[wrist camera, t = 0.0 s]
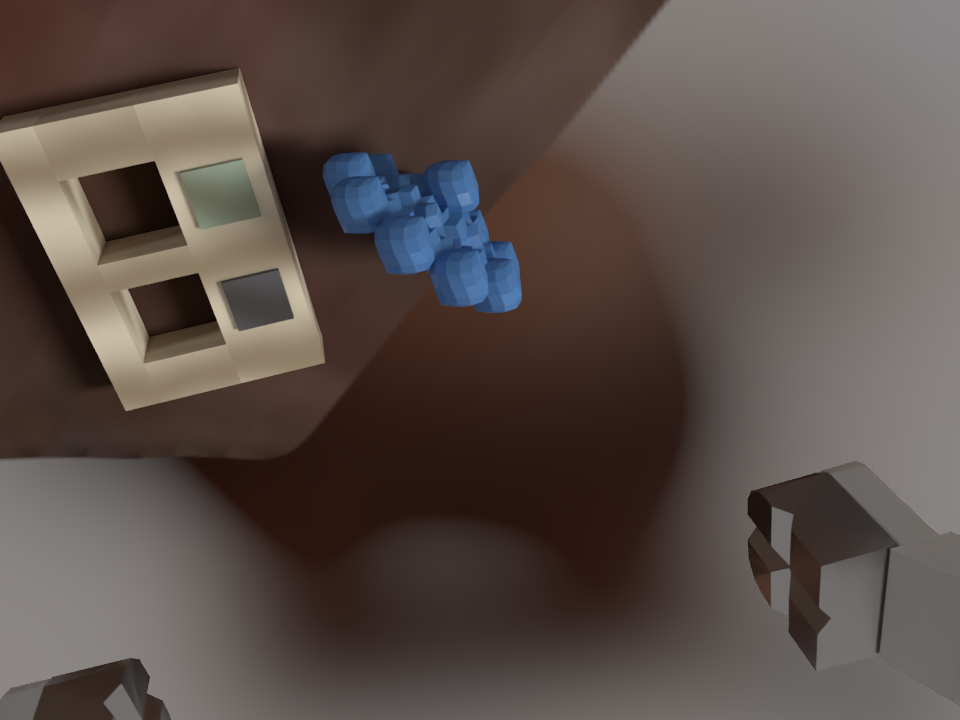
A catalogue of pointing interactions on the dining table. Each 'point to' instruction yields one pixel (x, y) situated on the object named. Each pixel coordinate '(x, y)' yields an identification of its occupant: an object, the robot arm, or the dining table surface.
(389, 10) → the dining table surface
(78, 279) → the socket block
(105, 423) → the dining table surface
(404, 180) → the grapes
